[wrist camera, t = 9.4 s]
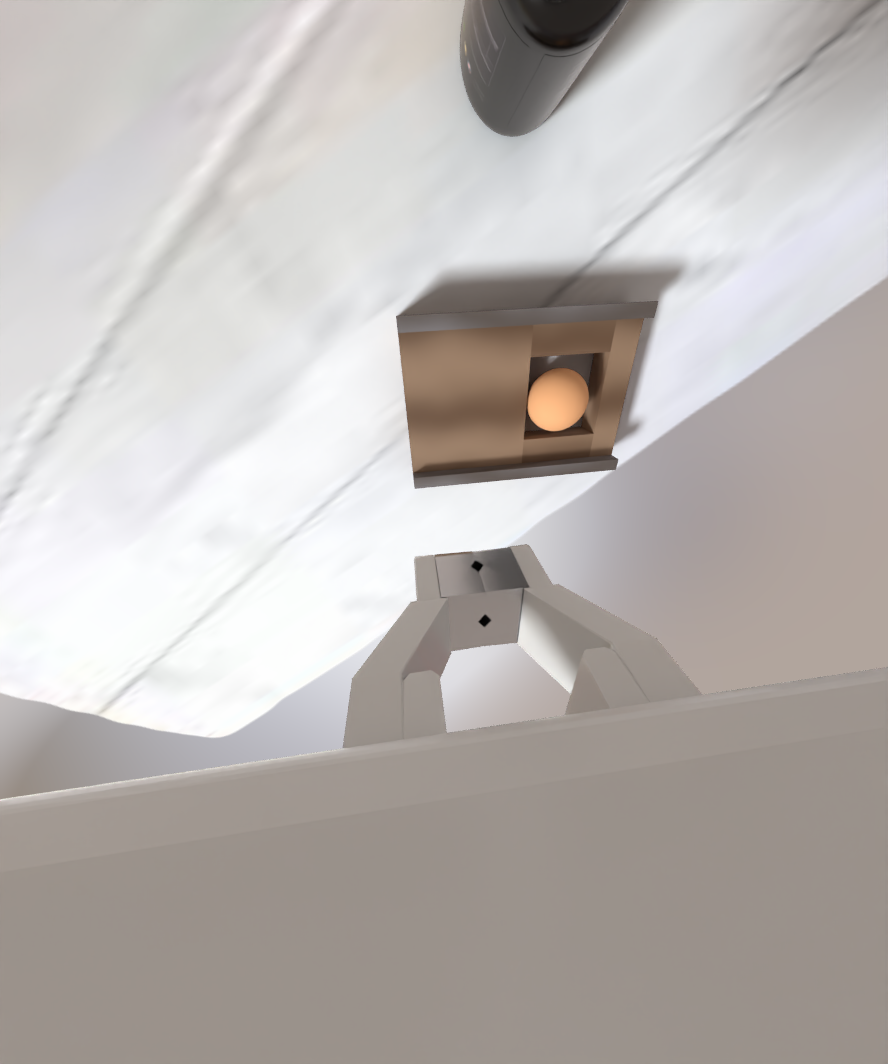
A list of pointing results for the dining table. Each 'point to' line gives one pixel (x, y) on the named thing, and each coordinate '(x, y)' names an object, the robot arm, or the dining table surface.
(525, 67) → the supplement bottle
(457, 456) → the lane
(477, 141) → the dining table surface
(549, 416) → the ball
